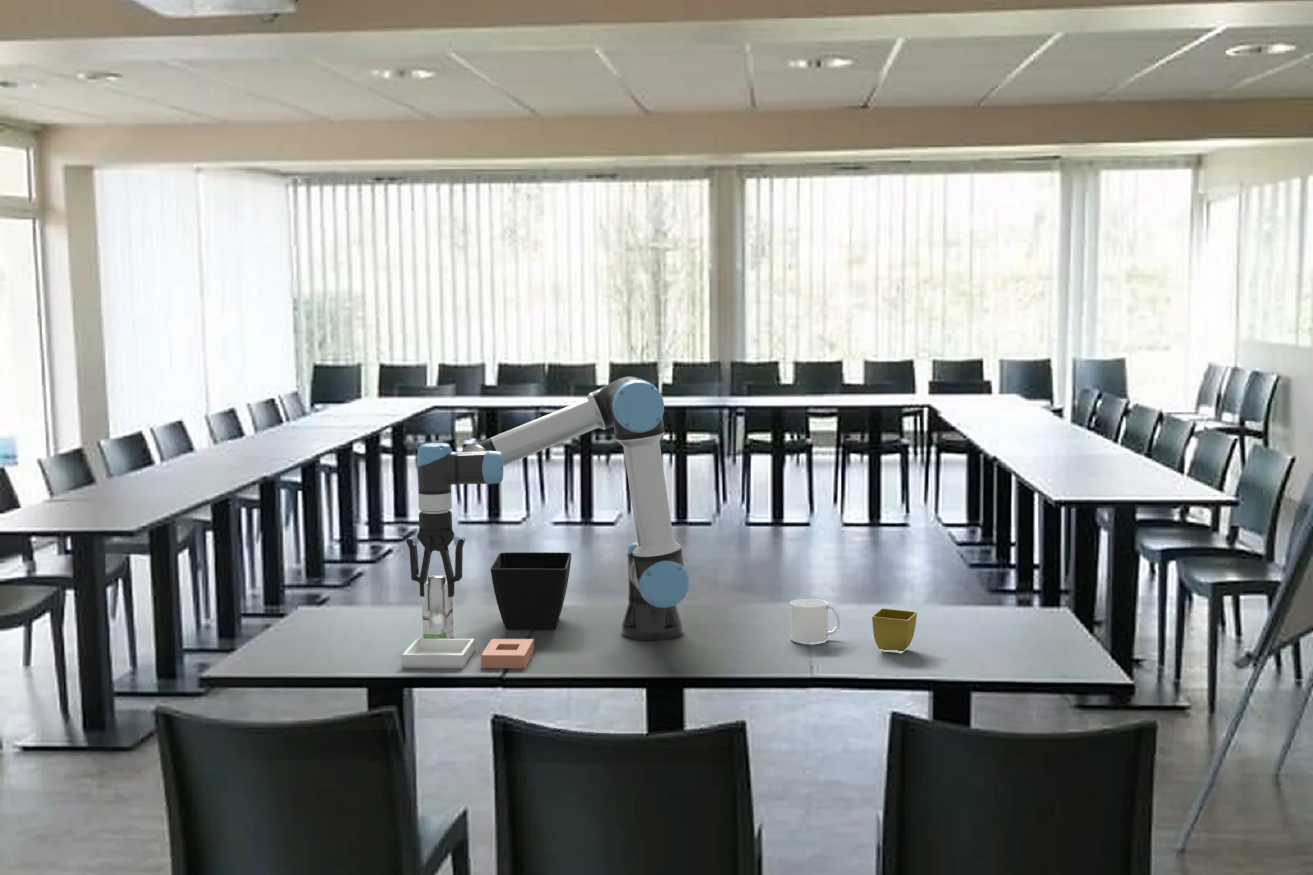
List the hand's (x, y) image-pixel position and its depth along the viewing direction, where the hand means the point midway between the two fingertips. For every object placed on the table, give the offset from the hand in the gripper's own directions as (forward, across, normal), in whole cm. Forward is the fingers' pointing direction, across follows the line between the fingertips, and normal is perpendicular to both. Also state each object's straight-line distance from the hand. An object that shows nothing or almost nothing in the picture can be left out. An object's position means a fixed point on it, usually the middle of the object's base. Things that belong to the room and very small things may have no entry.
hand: (437, 610), depth 312 cm
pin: (+4, 0, 0) cm, 4 cm away
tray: (+12, 0, 0) cm, 12 cm away
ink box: (+12, +4, -17) cm, 21 cm away
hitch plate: (+12, -16, 0) cm, 20 cm away
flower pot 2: (+11, -106, -10) cm, 107 cm away
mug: (+12, -88, -19) cm, 91 cm away
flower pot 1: (+12, -17, -33) cm, 39 cm away
